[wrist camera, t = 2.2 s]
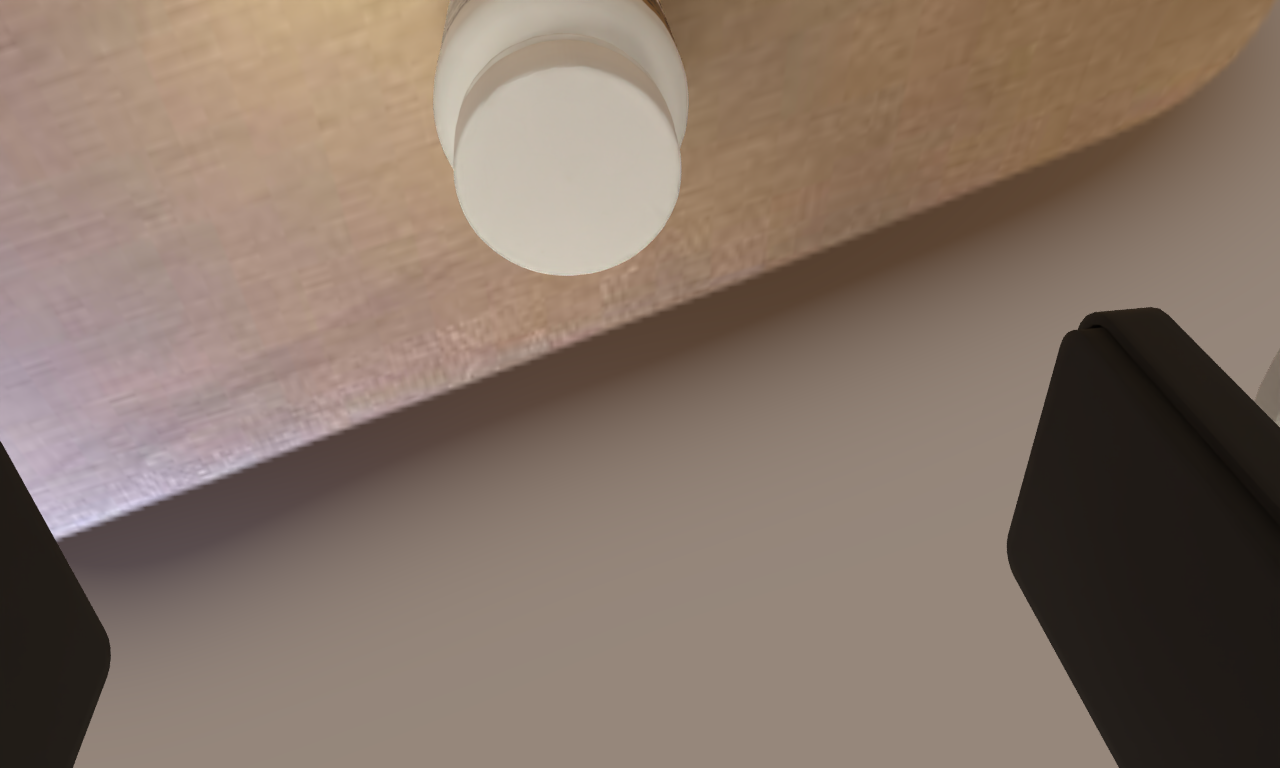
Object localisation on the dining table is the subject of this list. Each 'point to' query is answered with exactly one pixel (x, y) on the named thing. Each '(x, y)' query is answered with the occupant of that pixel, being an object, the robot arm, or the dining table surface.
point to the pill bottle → (562, 127)
